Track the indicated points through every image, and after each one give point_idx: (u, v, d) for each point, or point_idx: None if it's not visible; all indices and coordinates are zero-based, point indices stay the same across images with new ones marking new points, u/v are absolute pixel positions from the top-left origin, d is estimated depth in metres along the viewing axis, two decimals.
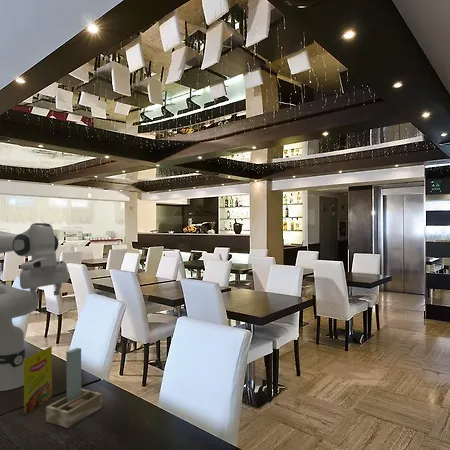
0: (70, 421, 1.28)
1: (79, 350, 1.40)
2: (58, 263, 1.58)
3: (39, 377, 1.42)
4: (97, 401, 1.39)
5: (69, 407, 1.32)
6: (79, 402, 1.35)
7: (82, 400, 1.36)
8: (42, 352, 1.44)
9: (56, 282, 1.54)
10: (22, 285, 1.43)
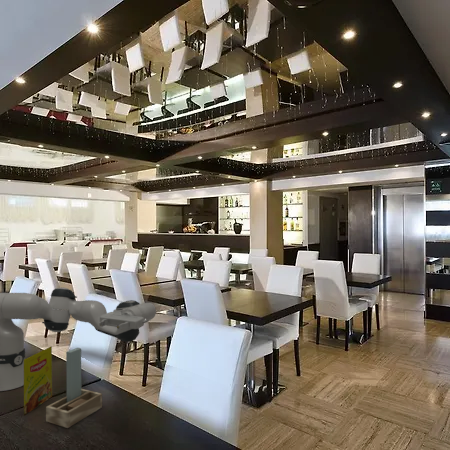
0: (70, 421, 1.28)
1: (79, 350, 1.40)
2: None
3: (39, 377, 1.42)
4: (97, 401, 1.39)
5: (69, 407, 1.32)
6: (79, 402, 1.35)
7: (82, 400, 1.36)
8: (42, 352, 1.45)
9: (124, 319, 1.59)
10: None
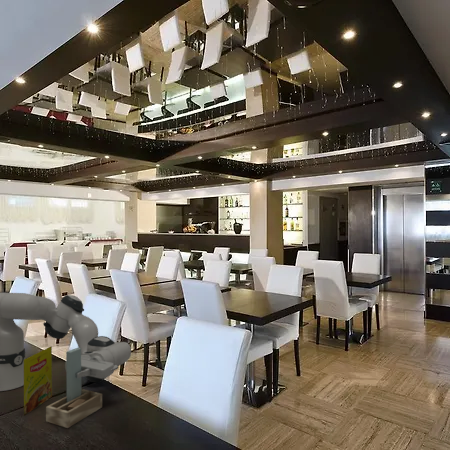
0: (70, 421, 1.28)
1: (79, 350, 1.40)
2: None
3: (39, 377, 1.42)
4: (97, 401, 1.39)
5: (70, 408, 1.32)
6: (79, 402, 1.35)
7: (81, 400, 1.36)
8: (42, 352, 1.44)
9: (91, 366, 1.42)
10: None
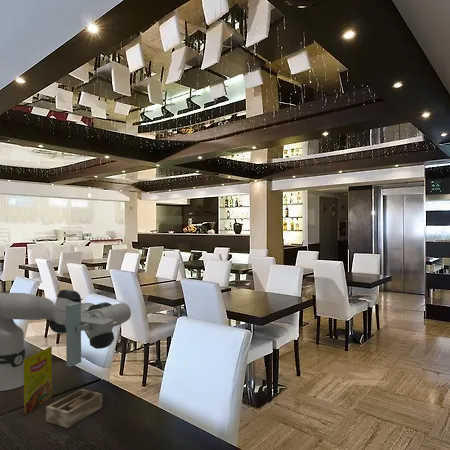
0: (70, 421, 1.28)
1: (78, 304, 1.40)
2: None
3: (39, 377, 1.42)
4: (97, 401, 1.39)
5: (70, 408, 1.31)
6: (79, 402, 1.34)
7: (81, 400, 1.36)
8: (42, 352, 1.45)
9: (90, 321, 1.42)
10: None
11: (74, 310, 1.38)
